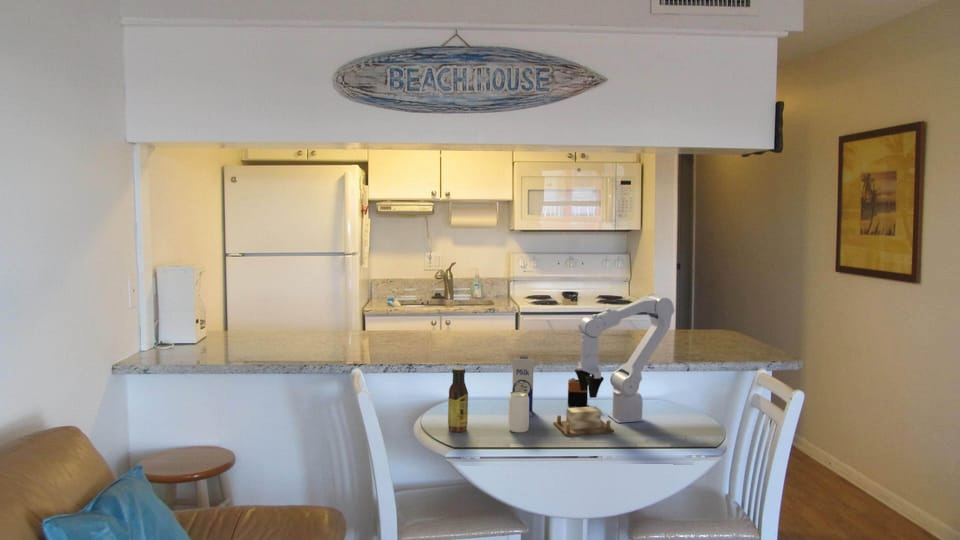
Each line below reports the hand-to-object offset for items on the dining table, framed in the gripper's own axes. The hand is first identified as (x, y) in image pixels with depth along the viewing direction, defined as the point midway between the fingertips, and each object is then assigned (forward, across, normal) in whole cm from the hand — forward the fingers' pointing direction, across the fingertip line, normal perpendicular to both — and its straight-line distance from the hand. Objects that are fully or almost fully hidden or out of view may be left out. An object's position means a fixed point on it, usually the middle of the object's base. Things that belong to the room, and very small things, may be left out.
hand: (588, 393), depth 206 cm
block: (+9, +6, -4) cm, 11 cm away
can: (+10, +3, -25) cm, 27 cm away
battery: (+10, -16, +3) cm, 19 cm away
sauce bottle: (+10, -1, -44) cm, 45 cm away
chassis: (+9, +6, -4) cm, 12 cm away
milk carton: (+10, -12, -19) cm, 24 cm away
